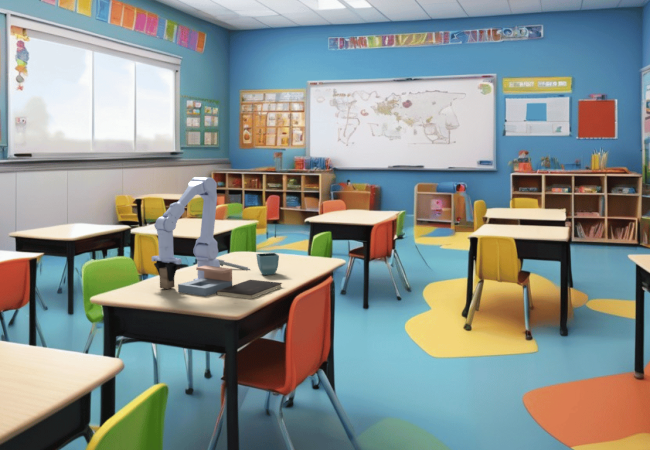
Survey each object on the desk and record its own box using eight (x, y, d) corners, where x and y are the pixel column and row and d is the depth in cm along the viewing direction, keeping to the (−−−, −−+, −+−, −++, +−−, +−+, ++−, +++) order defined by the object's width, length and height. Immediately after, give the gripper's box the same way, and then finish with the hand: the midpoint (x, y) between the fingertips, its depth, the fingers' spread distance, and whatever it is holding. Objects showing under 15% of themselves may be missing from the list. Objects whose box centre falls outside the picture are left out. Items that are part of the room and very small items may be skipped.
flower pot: (256, 272, 274) (256, 253, 273) (275, 271, 277) (275, 252, 276) (260, 276, 266) (259, 256, 265) (279, 275, 268) (279, 255, 267)
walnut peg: (167, 286, 244) (166, 266, 243) (174, 287, 242) (173, 267, 241) (160, 287, 241) (159, 268, 240) (167, 289, 239) (166, 269, 238)
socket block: (206, 284, 249) (205, 277, 249) (232, 288, 242) (232, 280, 242) (178, 291, 236) (178, 284, 235) (205, 296, 229) (205, 288, 228)
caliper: (209, 268, 286) (208, 255, 285) (210, 268, 287) (209, 255, 286) (249, 270, 281) (249, 257, 280) (250, 270, 282) (250, 257, 281)
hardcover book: (282, 288, 245) (282, 282, 244) (251, 300, 224) (251, 294, 224) (248, 284, 252) (248, 279, 251) (216, 296, 231) (216, 290, 231)
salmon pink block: (205, 277, 249) (205, 265, 248) (232, 280, 242) (232, 268, 241) (196, 279, 244) (196, 267, 244) (223, 283, 237) (223, 270, 237)
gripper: (145, 246, 240) (146, 280, 241) (171, 249, 232) (173, 284, 234) (158, 244, 246) (159, 277, 247) (184, 247, 238) (185, 280, 240)
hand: (167, 280), depth 241 cm, fingers closed on walnut peg, 4 cm apart
